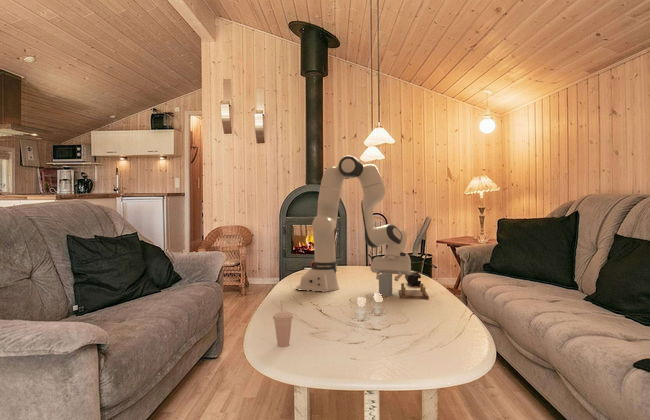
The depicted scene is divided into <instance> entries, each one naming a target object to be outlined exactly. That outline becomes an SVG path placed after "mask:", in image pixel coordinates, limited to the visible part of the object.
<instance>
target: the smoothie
mask: <svg viewBox="0 0 650 420" xmlns="http://www.w3.org/2000/svg"><path fill="white" fill-rule="evenodd" d="M293 318H294V316H293V313H291V312H285V311H284V312H283V300H280V312H277V313H274V314H273V315H272V319H273V321H274V329H275V336H276V343H277V344H276V345H277V346H278V347H280V348H283V347H284V348H285V347H288V346H290V340H291V333H292V332H291V330H292V321H293V320H292V319H293Z"/></svg>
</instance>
